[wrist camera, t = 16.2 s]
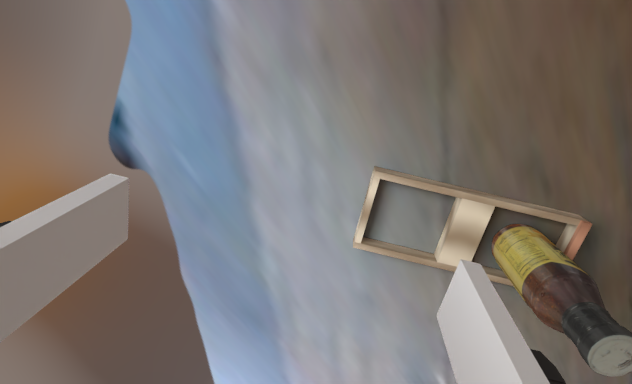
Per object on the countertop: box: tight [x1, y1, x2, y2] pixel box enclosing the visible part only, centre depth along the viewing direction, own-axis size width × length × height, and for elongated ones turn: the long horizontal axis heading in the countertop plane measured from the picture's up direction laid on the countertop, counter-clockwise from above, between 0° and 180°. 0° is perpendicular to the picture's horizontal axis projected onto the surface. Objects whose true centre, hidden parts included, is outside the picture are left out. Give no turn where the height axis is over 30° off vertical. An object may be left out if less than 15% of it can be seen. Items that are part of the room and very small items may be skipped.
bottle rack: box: [353, 166, 592, 286], centre depth 46 cm, size 11×26×3 cm, turn 78°
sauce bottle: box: [492, 224, 632, 376], centre depth 37 cm, size 7×6×20 cm
